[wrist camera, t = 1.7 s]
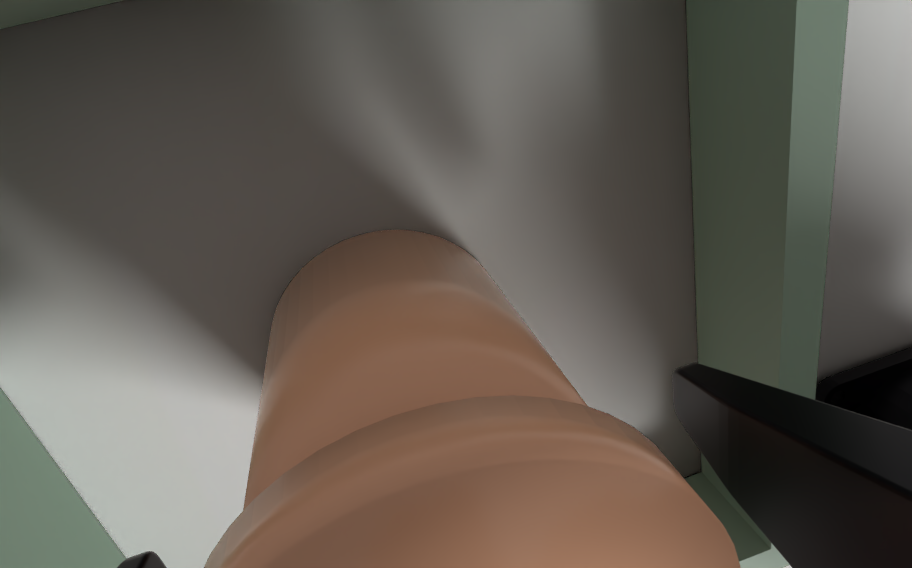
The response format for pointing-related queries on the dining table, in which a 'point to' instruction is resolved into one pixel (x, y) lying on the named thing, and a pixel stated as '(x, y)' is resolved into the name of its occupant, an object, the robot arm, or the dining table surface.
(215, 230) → the dining table surface
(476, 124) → the dining table surface
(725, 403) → the robot arm
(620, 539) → the peach mushroom knob
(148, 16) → the dining table surface
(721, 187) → the cold frame
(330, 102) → the dining table surface
